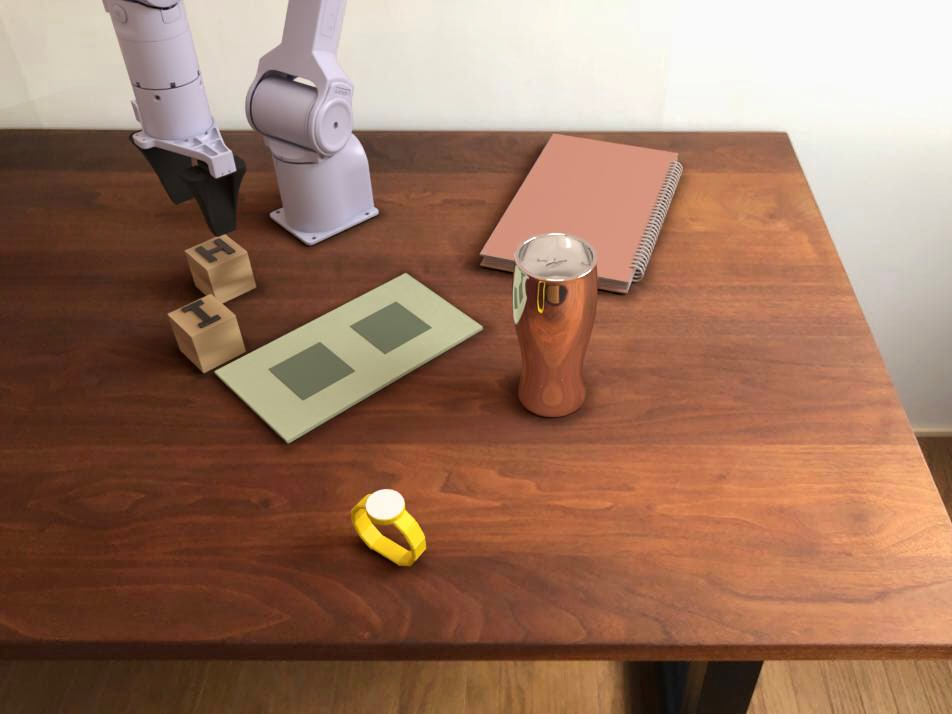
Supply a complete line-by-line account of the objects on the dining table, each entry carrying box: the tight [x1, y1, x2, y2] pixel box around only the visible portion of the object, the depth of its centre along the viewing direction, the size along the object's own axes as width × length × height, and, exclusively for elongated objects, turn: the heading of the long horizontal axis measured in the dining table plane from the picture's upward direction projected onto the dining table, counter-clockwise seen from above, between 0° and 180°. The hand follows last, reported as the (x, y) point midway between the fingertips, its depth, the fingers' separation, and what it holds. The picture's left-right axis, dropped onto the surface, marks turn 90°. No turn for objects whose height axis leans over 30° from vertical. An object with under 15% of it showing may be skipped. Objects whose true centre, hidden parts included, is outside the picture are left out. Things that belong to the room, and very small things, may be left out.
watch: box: [350, 488, 427, 567], centre depth 65 cm, size 6×3×6 cm, turn 58°
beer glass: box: [511, 232, 599, 418], centre depth 75 cm, size 7×7×15 cm
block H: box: [184, 234, 257, 305], centre depth 89 cm, size 4×4×5 cm
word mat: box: [214, 272, 484, 444], centre depth 84 cm, size 22×12×1 cm, turn 134°
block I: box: [166, 294, 247, 374], centre depth 82 cm, size 4×4×5 cm
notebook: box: [479, 133, 684, 295], centre depth 101 cm, size 27×17×2 cm, turn 163°
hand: (204, 215), depth 85 cm, fingers open, 7 cm apart
